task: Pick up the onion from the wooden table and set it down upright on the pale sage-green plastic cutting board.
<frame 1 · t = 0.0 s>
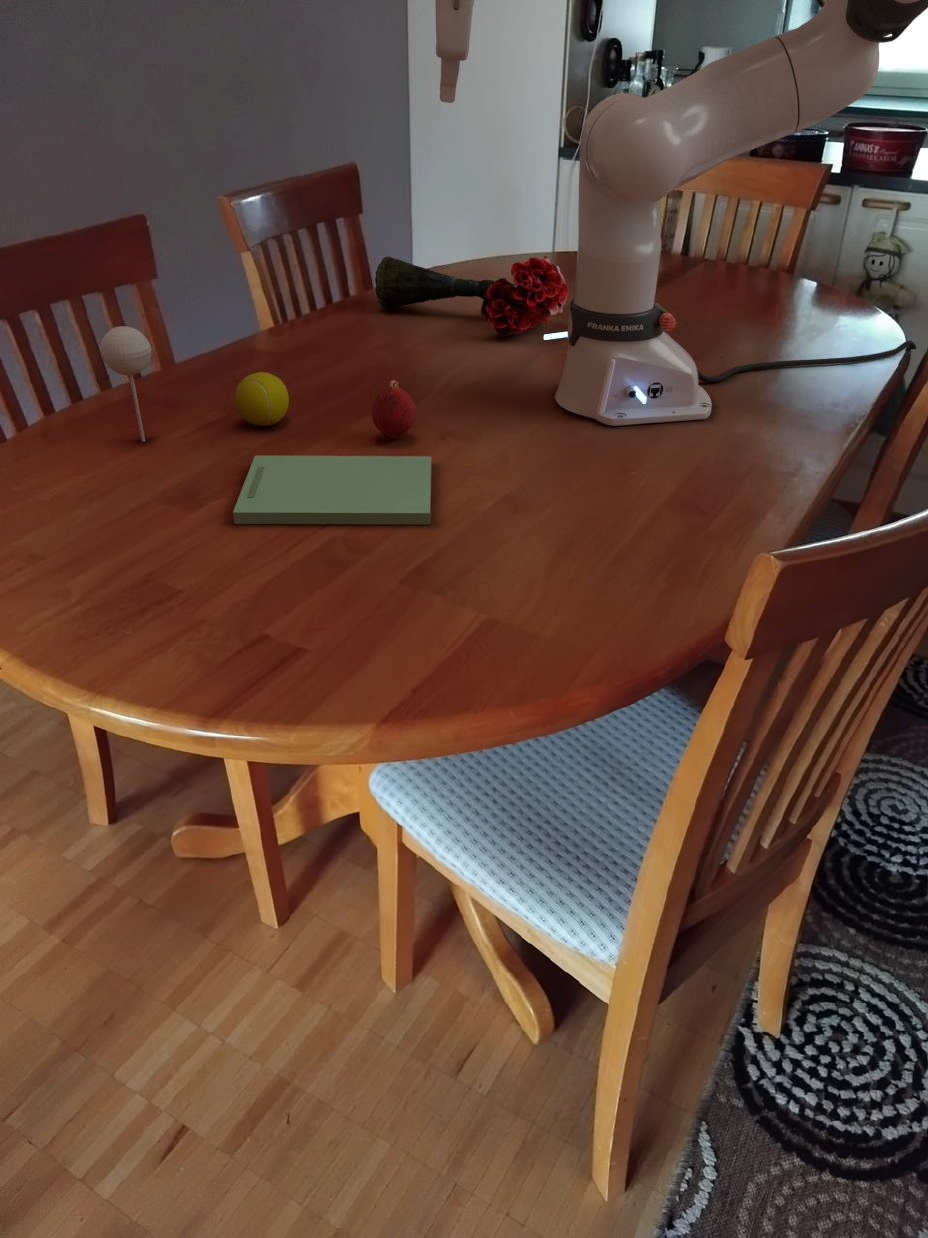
hand: (446, 97, 115), 39 cm above the table, tool pointing down, fingers open, 8 cm apart
tennis ball: (265, 425, 129), on the table
carnation: (468, 323, 167), on the table
onion: (394, 440, 125), on the table
cutting board: (338, 493, 112), on the table
lollipop: (143, 442, 124), on the table
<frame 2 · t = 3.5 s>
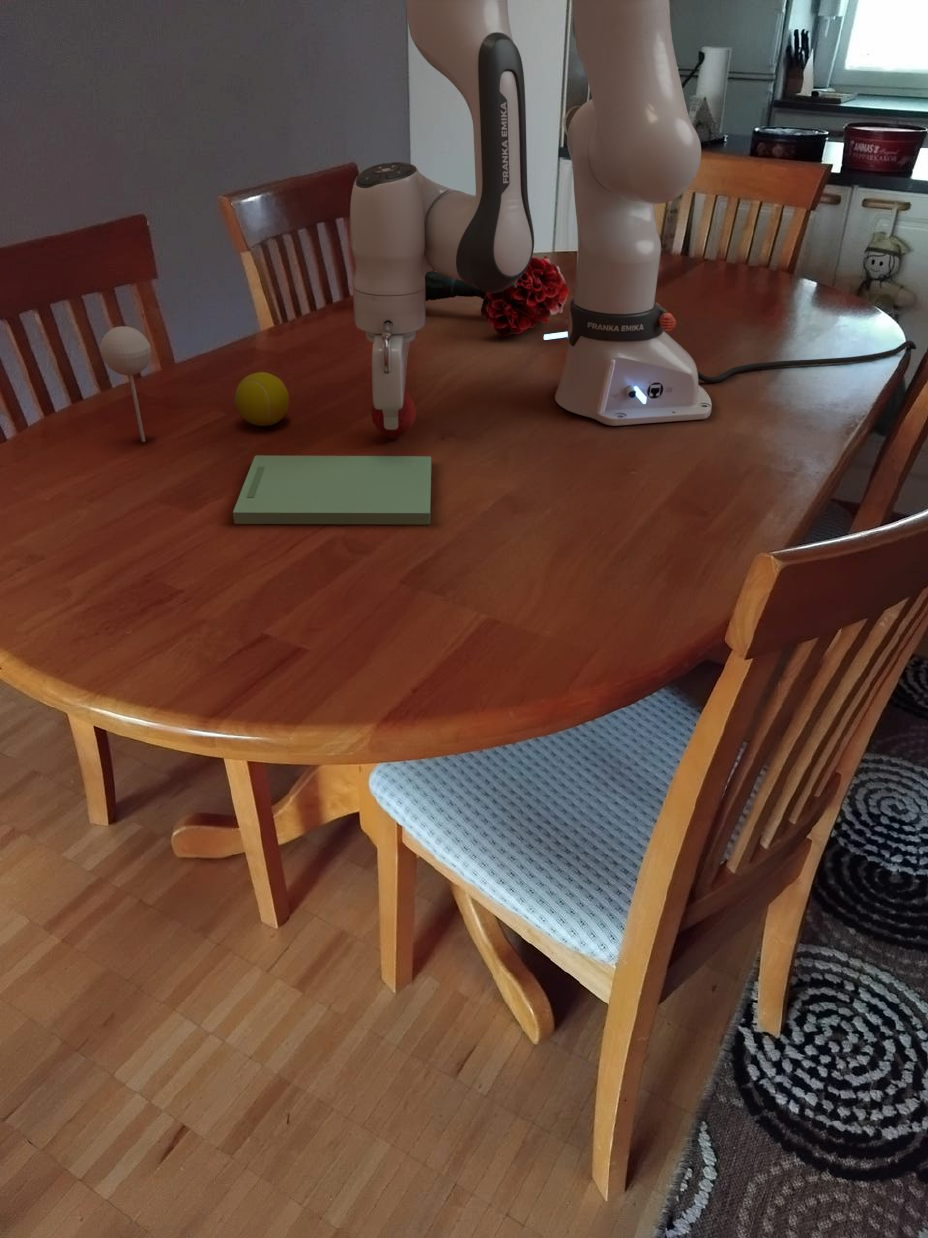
hand: (392, 416, 123), 3 cm above the table, tool pointing down, fingers closed on onion, 6 cm apart
onion: (394, 440, 125), on the table, touching gripper
everything else where it was.
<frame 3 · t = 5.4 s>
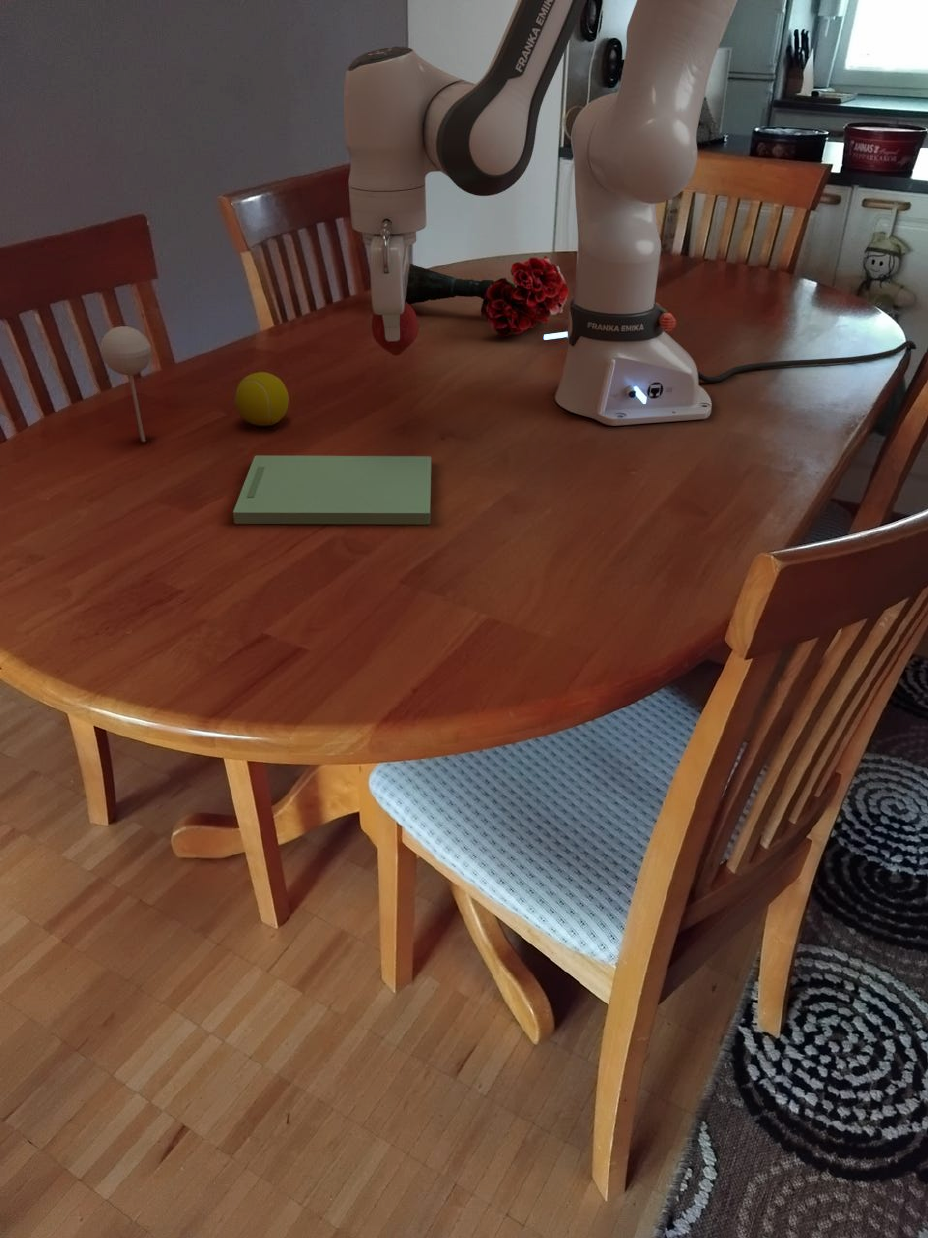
hand: (394, 329, 117), 15 cm above the table, tool pointing down, fingers closed on onion, 6 cm apart
onion: (396, 356, 119), point 11 cm above the table, touching gripper
everything else where it was.
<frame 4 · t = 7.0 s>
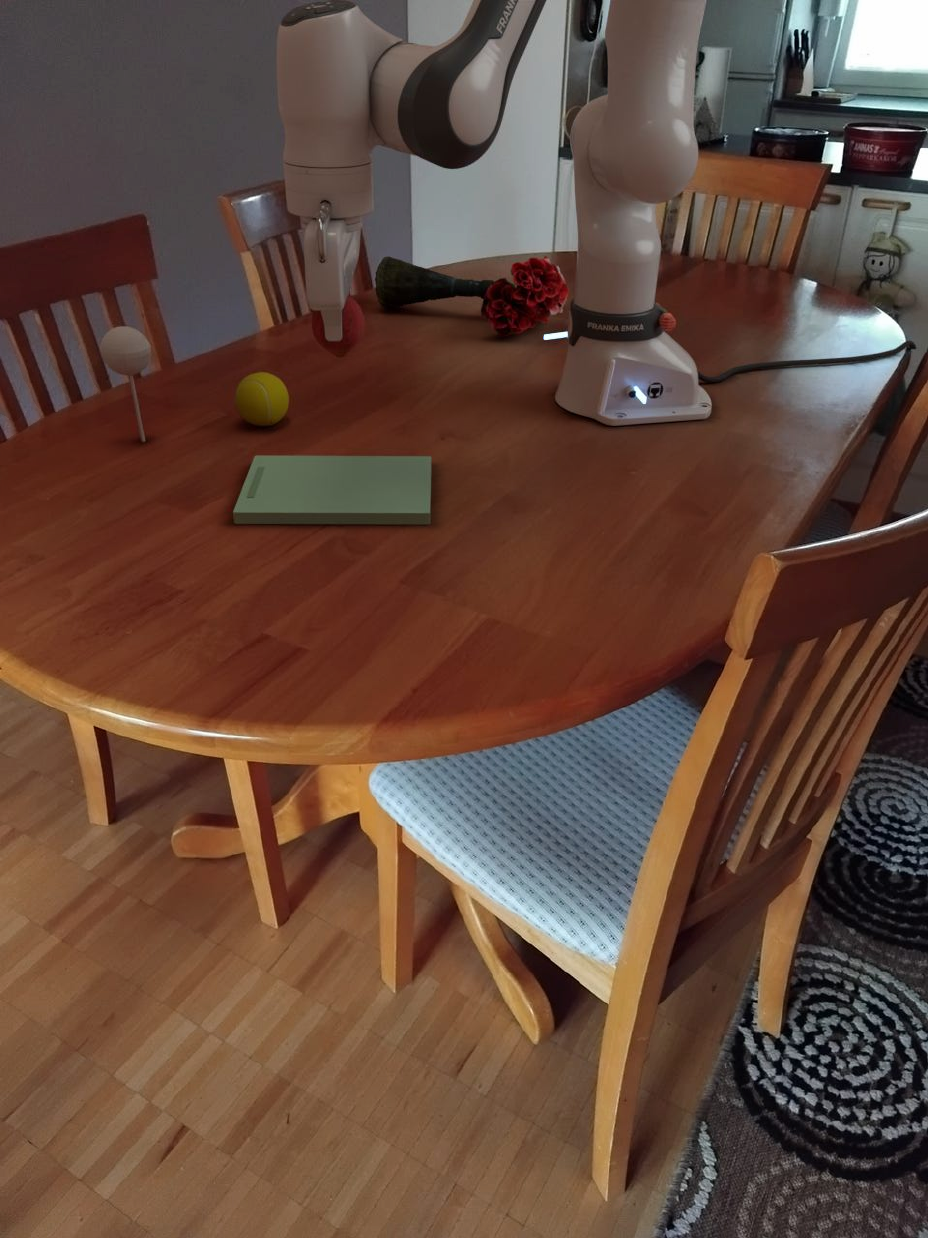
hand: (337, 328, 103), 19 cm above the table, tool pointing down, fingers closed on onion, 6 cm apart
onion: (340, 358, 105), point 16 cm above the table, touching gripper
everything else where it was.
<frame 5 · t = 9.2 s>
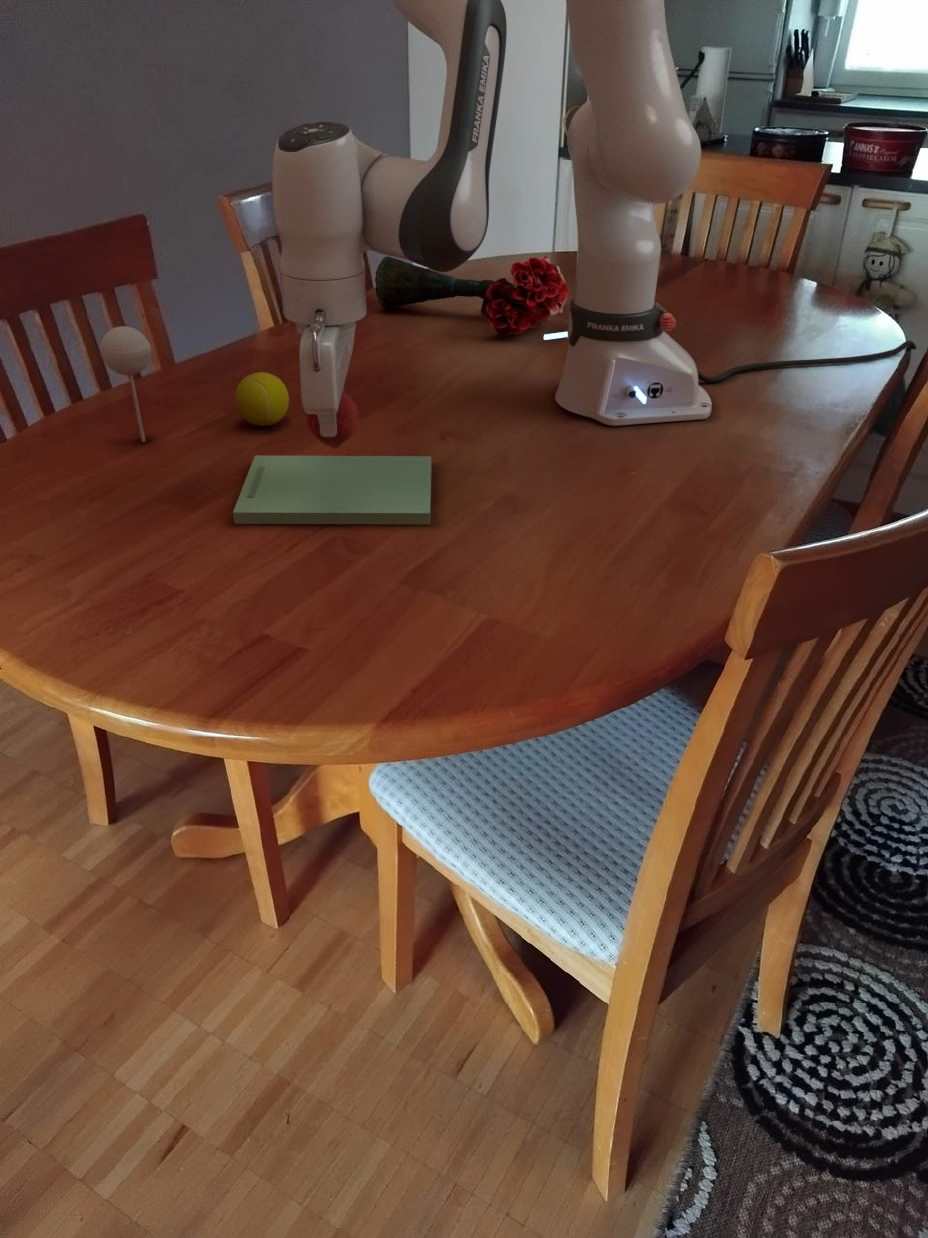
hand: (332, 421, 107), 9 cm above the table, tool pointing down, fingers closed on onion, 6 cm apart
onion: (335, 449, 109), point 6 cm above the table, touching gripper
everything else where it was.
when the fingers open (5 cm above the table, at t = 10.8 s): onion stays where it is, resting on cutting board.
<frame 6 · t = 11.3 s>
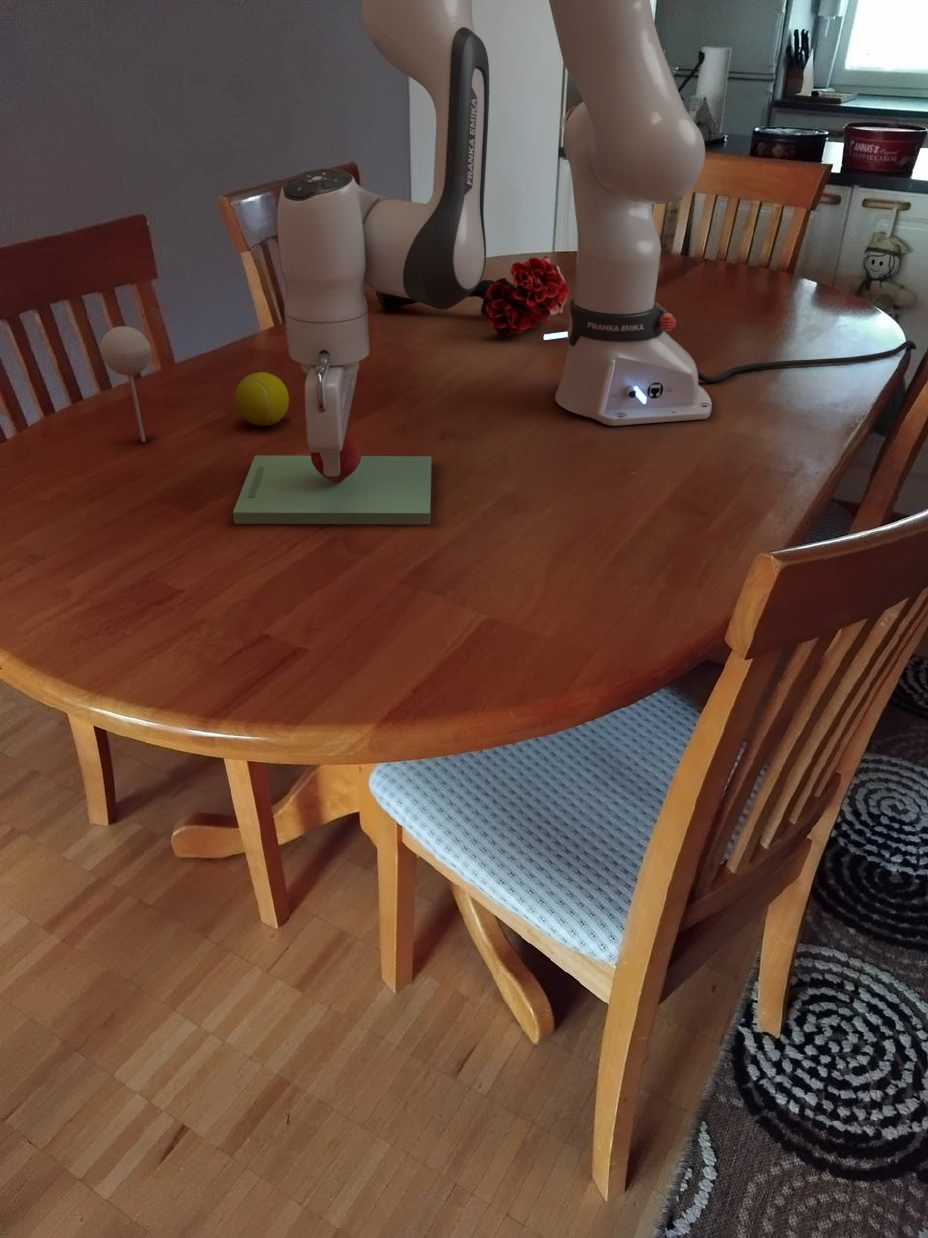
hand: (336, 455, 109), 5 cm above the table, tool pointing down, fingers open, 8 cm apart
onion: (338, 483, 111), point 1 cm above the table, touching cutting board
everything else where it was.
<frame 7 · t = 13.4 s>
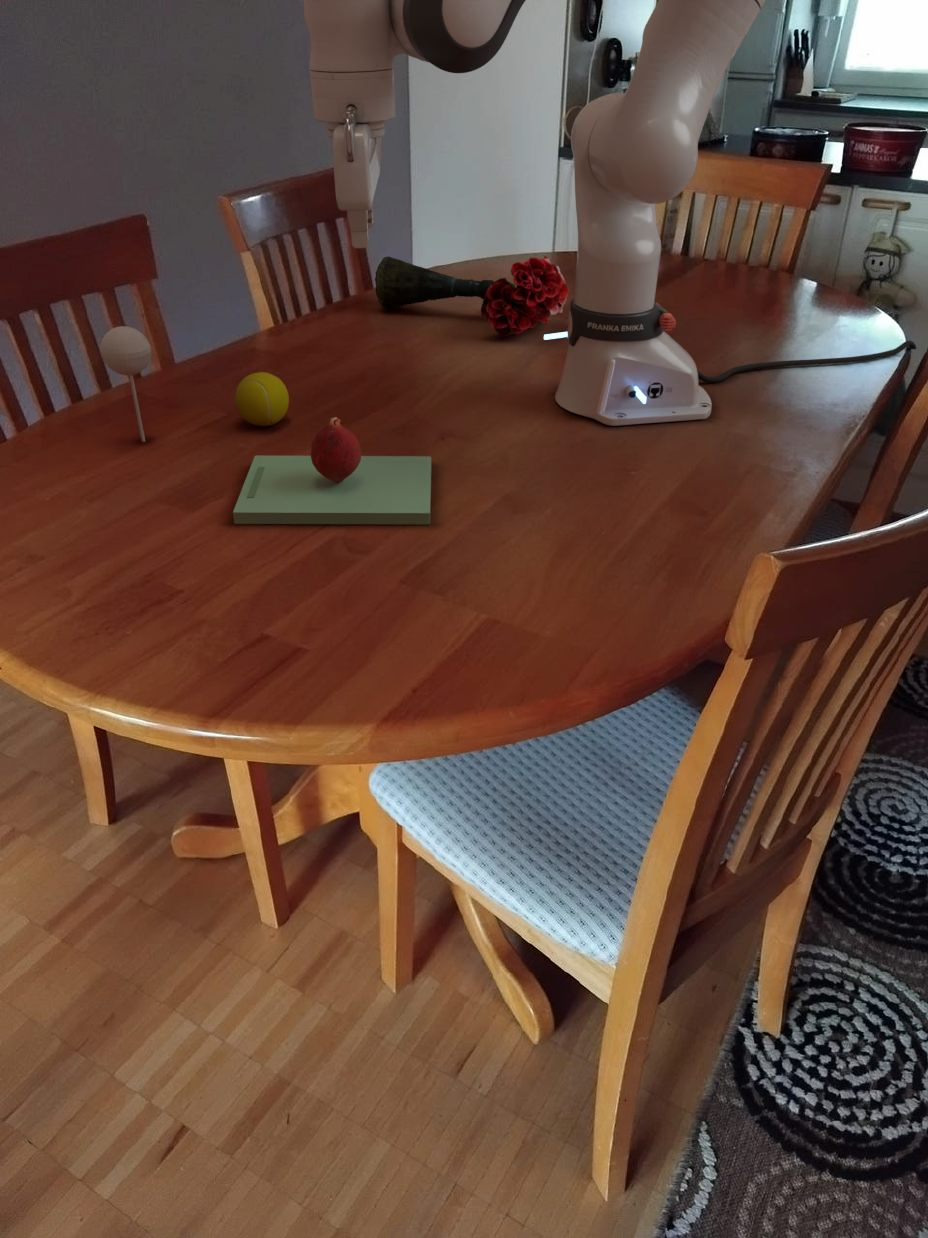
hand: (363, 236, 108), 26 cm above the table, tool pointing down, fingers open, 8 cm apart
nothing on the table moved.
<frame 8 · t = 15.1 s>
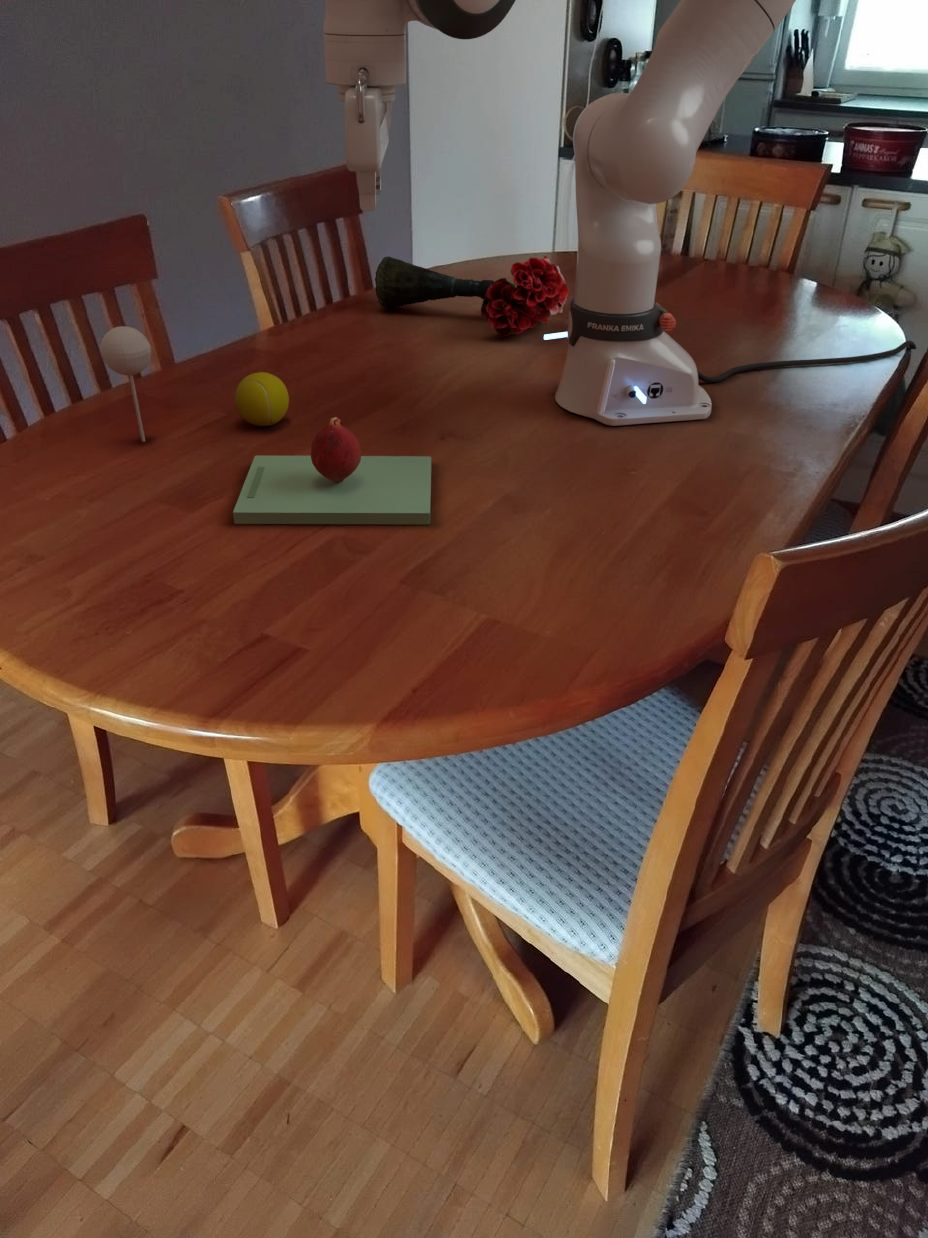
hand: (371, 201, 110), 29 cm above the table, tool pointing down, fingers open, 8 cm apart
nothing on the table moved.
at the end: onion inside the target area on the cutting board (0.1 cm from its centre), point 1.3 cm above the cutting board's base; the gripper is holding nothing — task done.
